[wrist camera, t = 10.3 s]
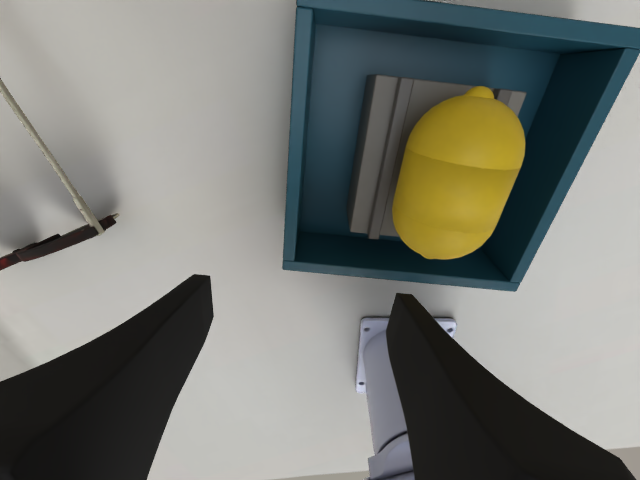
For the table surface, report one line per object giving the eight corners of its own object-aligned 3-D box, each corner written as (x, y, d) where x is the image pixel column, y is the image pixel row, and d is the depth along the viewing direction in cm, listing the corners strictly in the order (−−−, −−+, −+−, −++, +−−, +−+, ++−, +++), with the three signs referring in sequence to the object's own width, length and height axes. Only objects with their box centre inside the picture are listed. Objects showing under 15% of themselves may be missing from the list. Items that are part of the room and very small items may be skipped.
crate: (482, 253, 23) (516, 292, 18) (290, 234, 22) (282, 270, 18) (571, 41, 16) (652, 29, 12) (304, 7, 16) (297, -17, 12)
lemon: (446, 237, 18) (496, 285, 14) (371, 234, 17) (401, 285, 13) (497, 89, 14) (585, 96, 10) (404, 78, 13) (459, 81, 9)
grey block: (447, 219, 21) (473, 249, 17) (346, 209, 20) (350, 237, 17) (490, 89, 17) (536, 92, 13) (366, 74, 17) (378, 74, 13)
